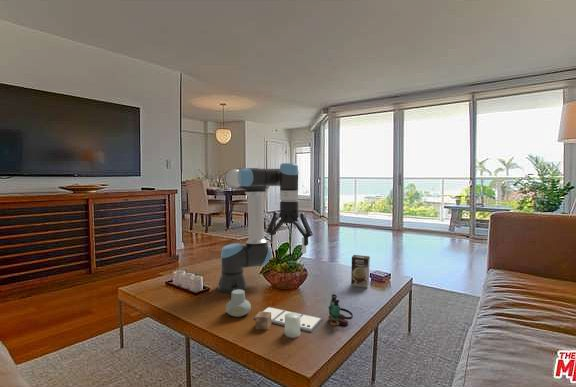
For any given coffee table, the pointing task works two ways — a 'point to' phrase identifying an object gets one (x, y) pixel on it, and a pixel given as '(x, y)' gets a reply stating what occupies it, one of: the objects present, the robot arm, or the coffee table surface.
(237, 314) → the air freshener
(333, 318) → the binoculars
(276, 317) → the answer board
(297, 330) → the pale green capsule
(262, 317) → the walnut block
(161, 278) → the coffee table surface
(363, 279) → the coffee box
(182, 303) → the coffee table surface
